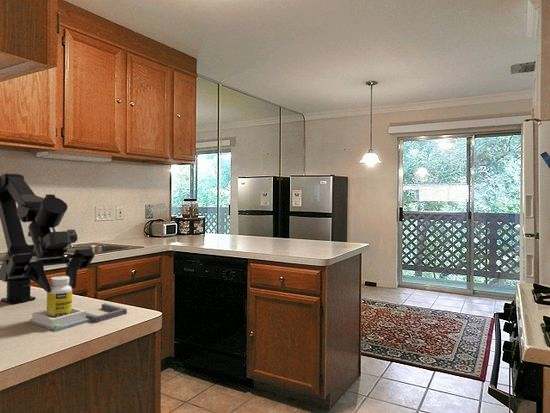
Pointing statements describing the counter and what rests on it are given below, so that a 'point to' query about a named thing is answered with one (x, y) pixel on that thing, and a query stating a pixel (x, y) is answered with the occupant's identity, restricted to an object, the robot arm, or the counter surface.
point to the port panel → (59, 319)
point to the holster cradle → (116, 312)
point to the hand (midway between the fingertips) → (62, 289)
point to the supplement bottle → (59, 297)
